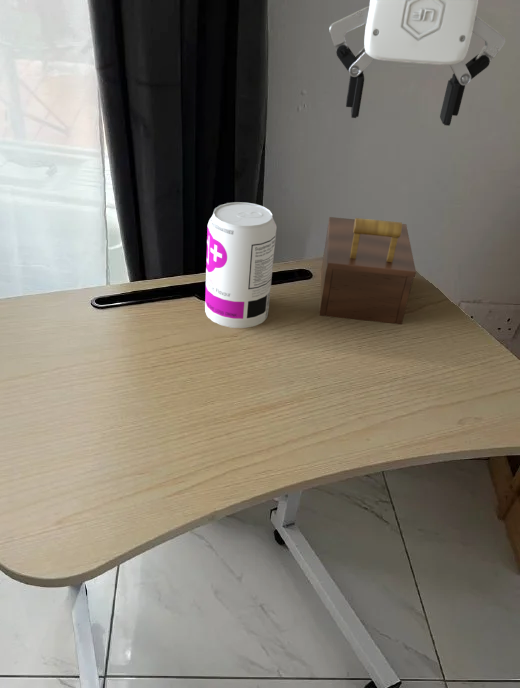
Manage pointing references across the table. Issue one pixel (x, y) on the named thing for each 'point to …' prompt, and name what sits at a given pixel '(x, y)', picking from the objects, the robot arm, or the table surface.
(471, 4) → the robot arm
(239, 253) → the supplement can
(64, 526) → the table surface
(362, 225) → the lid
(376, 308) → the chest
